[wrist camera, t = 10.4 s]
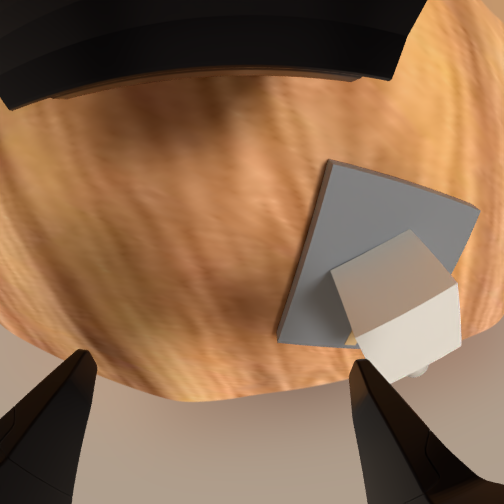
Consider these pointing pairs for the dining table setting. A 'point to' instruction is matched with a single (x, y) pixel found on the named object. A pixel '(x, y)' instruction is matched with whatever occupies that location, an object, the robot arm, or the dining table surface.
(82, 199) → the dining table surface
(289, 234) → the dining table surface
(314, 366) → the dining table surface
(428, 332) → the cream rectangular block
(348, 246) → the grey slotted slab
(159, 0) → the robot arm
